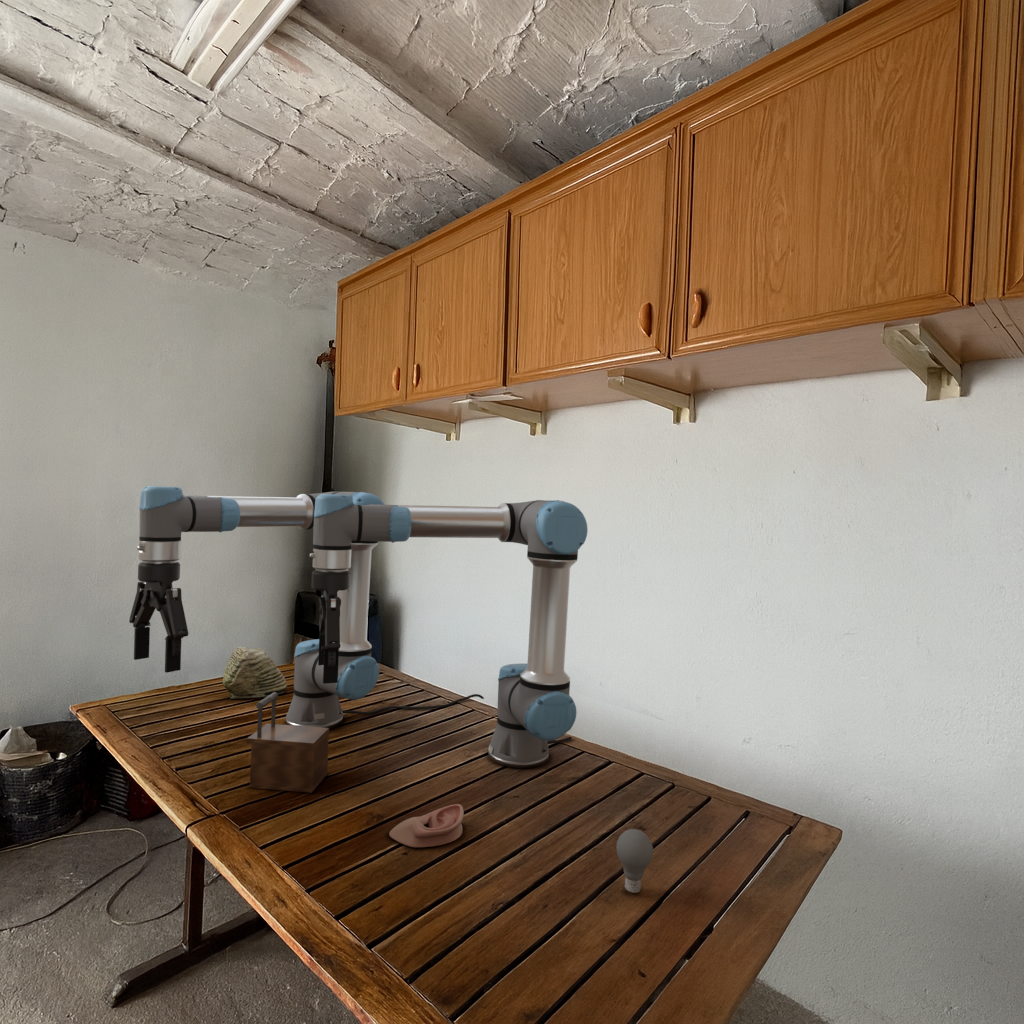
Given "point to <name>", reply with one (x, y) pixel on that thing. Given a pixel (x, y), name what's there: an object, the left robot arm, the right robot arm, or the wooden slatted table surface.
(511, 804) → the wooden slatted table surface
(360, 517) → the right robot arm
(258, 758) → the chest
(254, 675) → the fossil
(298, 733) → the lid
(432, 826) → the anatomical model
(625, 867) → the light bulb
